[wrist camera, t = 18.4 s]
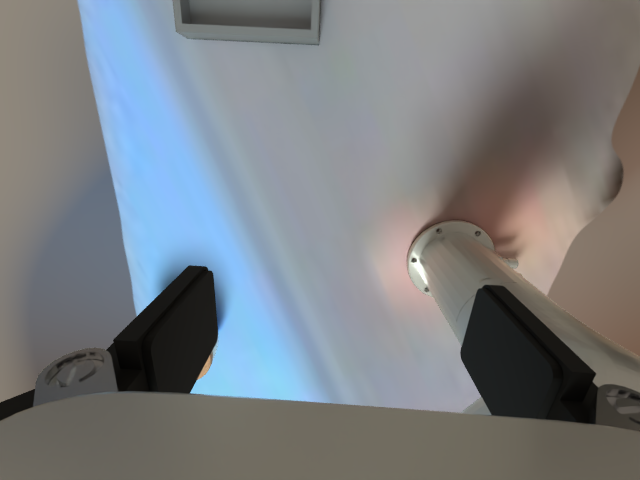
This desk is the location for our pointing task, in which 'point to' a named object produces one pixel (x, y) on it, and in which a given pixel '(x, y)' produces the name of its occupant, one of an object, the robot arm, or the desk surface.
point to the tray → (249, 20)
